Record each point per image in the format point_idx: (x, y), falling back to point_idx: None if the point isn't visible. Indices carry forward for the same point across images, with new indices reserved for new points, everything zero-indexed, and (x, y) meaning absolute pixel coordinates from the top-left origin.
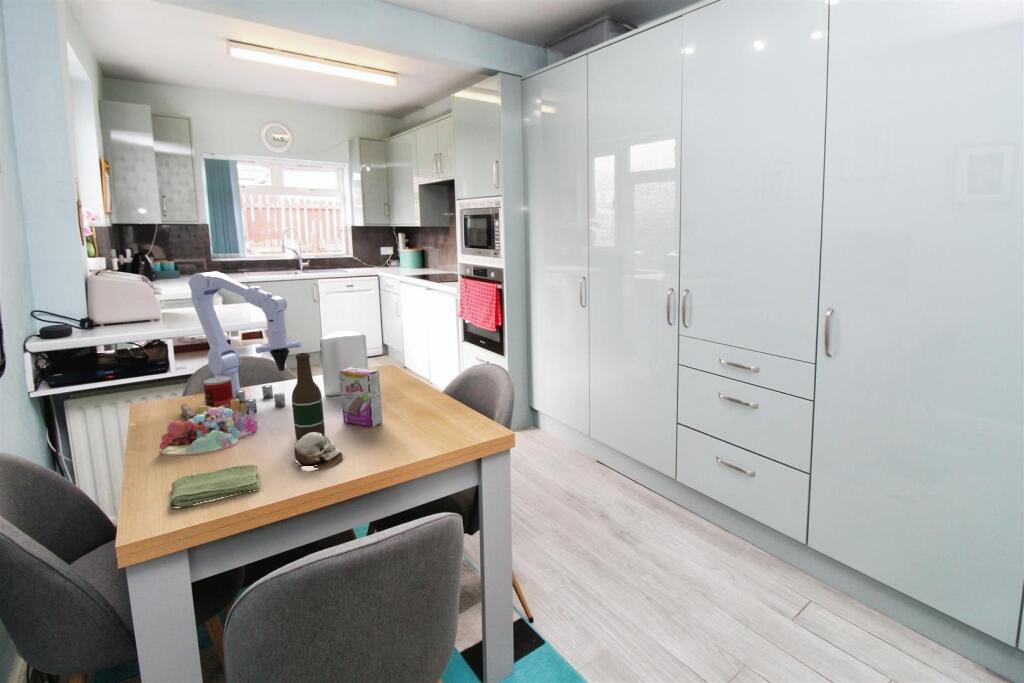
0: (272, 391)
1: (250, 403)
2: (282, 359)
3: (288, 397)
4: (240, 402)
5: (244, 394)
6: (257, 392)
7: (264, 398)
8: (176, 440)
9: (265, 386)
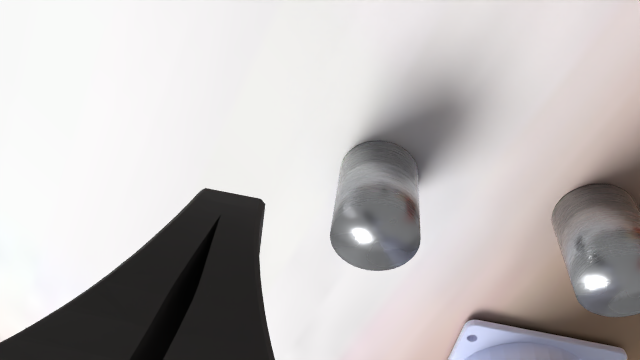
0: (344, 181)
1: None
2: (148, 322)
3: (264, 31)
4: (622, 196)
5: (590, 239)
6: (359, 321)
7: (416, 168)
8: None
9: (385, 245)
